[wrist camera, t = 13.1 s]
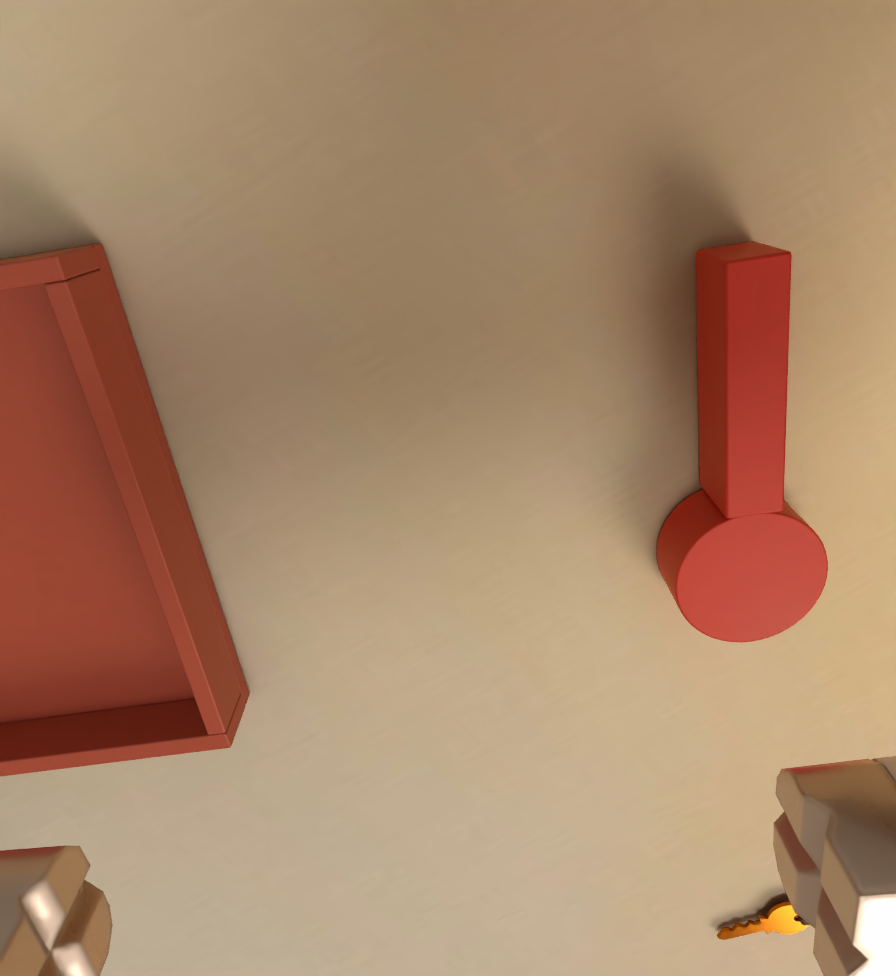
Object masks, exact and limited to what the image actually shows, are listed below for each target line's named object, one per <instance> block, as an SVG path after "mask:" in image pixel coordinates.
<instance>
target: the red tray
mask: <svg viewBox="0 0 896 976" xmlns="http://www.w3.org/2000/svg"><path fill="white" fill-rule="evenodd" d="M248 697H249V691H248V688H247V685H246V682H245V679H244V676H243V673H242V669H241V666H240V663H239V660H238V657H237V654H236V651H235V648H234V645H233V642H232V639H231V636H230V633H229V630H228V627H227V624H226V621H225V618H224V614H223V611H222V608H221V605H220V602H219V599H218V596H217V593H216V590H215V587H214V584H213V581H212V578H211V575H210V572H209V569H208V566H207V563H206V559H205V556H204V553H203V550H202V547H201V544H200V541H199V538H198V535H197V532H196V529H195V526H194V523H193V520H192V517H191V514H190V511H189V508H188V505H187V501H186V498H185V495H184V492H183V489H182V486H181V483H180V480H179V477H178V474H177V471H176V468H175V465H174V462H173V459H172V456H171V453H170V450H169V446H168V443H167V440H166V437H165V434H164V431H163V428H162V425H161V422H160V419H159V416H158V413H157V410H156V407H155V404H154V401H153V398H152V395H151V391H150V388H149V385H148V382H147V379H146V376H145V373H144V370H143V367H142V364H141V361H140V358H139V355H138V352H137V349H136V346H135V343H134V340H133V336H132V333H131V330H130V327H129V324H128V321H127V318H126V315H125V312H124V309H123V306H122V303H121V300H120V297H119V294H118V291H117V288H116V285H115V282H114V278H113V275H112V272H111V269H110V266H109V263H108V260H107V257H106V254H105V251H104V248H103V245H102V244H100V243H98V244H92V245H86V246H80V247H74V248H68V249H62V250H56V251H50V252H44V253H38V254H32V255H26V256H20V257H14V258H8V259H2V260H0V776H8V775H15V774H23V773H31V772H39V771H47V770H55V769H63V768H71V767H79V766H87V765H95V764H103V763H111V762H119V761H127V760H135V759H143V758H151V757H159V756H167V755H175V754H183V753H191V752H199V751H207V750H215V749H223V748H230V747H231V745H232V742H233V740H234V737H235V734H236V731H237V728H238V726H239V723H240V720H241V717H242V714H243V712H244V709H245V706H246V705H245V704H246V703H247V700H248Z"/></svg>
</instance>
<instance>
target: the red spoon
mask: <svg viewBox="0 0 896 976" xmlns="http://www.w3.org/2000/svg"><path fill="white" fill-rule="evenodd" d="M790 281H791V252H789V251H786V250H782V249H779V248H775V247H771V246H768V245H764V244H761V243H757V242H754V241H751V242H744V243H738V244H732V245H725V246H719V247H713V248H706V249H700V250H698V251H696V299H697V353H698V408H699V462H700V485H701V486H702V488H703V489H702V490H699V491H697V492H696V493H694V494H692V495H691V496H689V497H688V498H686V499H685V500H684V501H682V502H681V503H680V504H679V505H678V506H677V507H676V508H675V509H674V510H673V511H672V513H671V514H670V515H669V517H668V518H667V520H666V521H665V523H664V525H663V527H662V529H661V532H660V535H659V538H658V542H657V554H656V555H657V563H658V566H659V570H660V572H661V574H662V576H663V578H664V580H665V582H666V584H667V586H668V588H669V590H670V592H671V593H672V595H673V597H674V599H675V601H676V603H677V605H678V607H679V609H680V611H681V613H682V614H683V616H684V617H685V619H686V620H687V621H688V622H689V623H690V624H691V625H692V626H693V627H694V628H696V629H697V630H698V631H700V632H702V633H704V634H705V635H707V636H710V637H712V638H715V639H719V640H722V641H729V642H750V641H756V640H761V639H764V638H768V637H771V636H773V635H776V634H778V633H780V632H782V631H784V630H786V629H788V628H789V627H791V626H792V625H794V624H795V623H797V622H798V621H799V620H800V619H802V618H803V617H804V616H805V615H806V614H807V613H808V612H809V611H810V610H811V608H812V607H813V606H814V604H815V603H816V602H817V600H818V598H819V597H820V595H821V593H822V590H823V588H824V585H825V582H826V578H827V571H828V561H827V555H826V551H825V548H824V545H823V543H822V542H821V540H820V538H819V537H818V535H817V534H816V533H815V532H814V530H813V529H812V528H811V527H810V526H809V525H808V524H807V523H806V522H805V521H804V520H803V519H802V518H801V517H800V516H799V515H798V514H797V513H796V512H795V511H794V510H793V509H792V508H791V507H790V506H789V505H788V504H787V503H786V502H785V501H784V469H785V438H786V406H787V375H788V343H789V312H790Z"/></svg>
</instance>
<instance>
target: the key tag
mask: <svg viewBox="0 0 896 976" xmlns="http://www.w3.org/2000/svg"><path fill="white" fill-rule="evenodd" d="M796 915H797V914H796V913H795V912H794V910H793V908H792V905H791V903H790V901H788V902H782V903H779V904H777V905H775V906H773V907H772V908H771V909H770V910H769V911H768V913H767V915H759V918H760V920H757V921H751V920H748V921H747V923H746V924H745V925H744V924H741V923H736V924H735V925H734V926H733V927H732V928H730V927H724V928H722V929H721V931H720V932H719V933H718V934H717V936H718V938H719V939H723V940H726V939H730V938H734V937H739V936H743V935H747V934H751V933H756V932H760V931H764V930H765V932H766V934H768V933H769V932H771V931H772V930H774V931H775V932H778V933H781V934H793V933H797V932H800V931H802V930H803V929H805V928H806V927H807V926H808V925H810V924H809V923H807V922H806V921H805V920H804V919H802V918H801V917H800V916H798V918H796V917H795V916H796Z"/></svg>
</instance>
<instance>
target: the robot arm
mask: <svg viewBox="0 0 896 976" xmlns="http://www.w3.org/2000/svg"><path fill="white" fill-rule="evenodd" d="M776 796H777V798H778V800H779V802H780V804H781V806H782V808H783V810H784V813H783V814H782V815H781V816H780V817H779V818H778V819H777V820H776V821H775V822H774V842H773V845H774V851H775V856H776V862H777V867H778V872H779V874H780V877H781V880H782V883H783V886H784V889H785V892H786V894H787V896H788V899H789V901H790V903H791V905H792V908H793V910H794V912H795V913H796V914H797V915H798V916H800V917H801V918H802V919H804V920H805V921H806V922H807V923H809V924H810V925H811V926H813V927H814V928H815V938H814V949H813V954H814V956H815V958H816V960H817V962H818V964H819V966H820V968H821V971H822V973H823V975H824V976H896V756H893V757H884V758H875V759H872V760H869V759H863V760H854V761H846V762H837V763H829V764H820V765H812V766H803V767H795V768H786V769H781V771H780V773H779V775H778V777H777V785H776ZM89 868H90V864H89V862H88V860H87V858H86V856H85V855H84V853H83V851H82V849H81V847H80V846H56V847H43V848H30V849H17V850H4V851H0V976H100V974H101V971H102V969H103V966H104V964H105V961H106V958H107V956H108V953H109V946H110V939H111V932H112V919H111V912H110V906H109V903H108V901H107V899H106V897H105V895H104V892H103V891H102V890H100V889H98V888H97V887H95V886H94V885H92V884H90V883H89V882H87V881H86V880H84V879H85V876H86V874H87V872H88V870H89Z"/></svg>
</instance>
